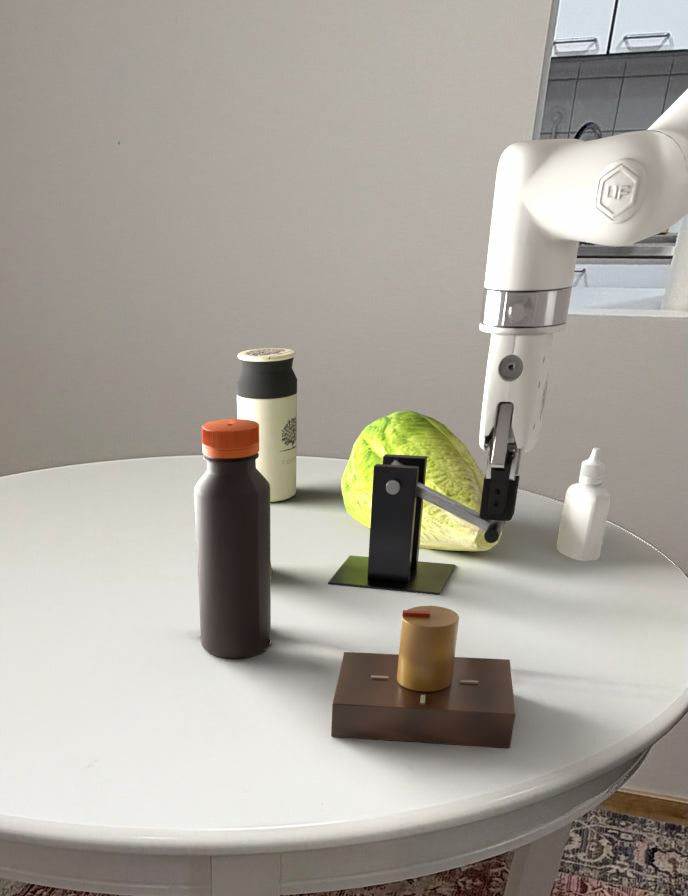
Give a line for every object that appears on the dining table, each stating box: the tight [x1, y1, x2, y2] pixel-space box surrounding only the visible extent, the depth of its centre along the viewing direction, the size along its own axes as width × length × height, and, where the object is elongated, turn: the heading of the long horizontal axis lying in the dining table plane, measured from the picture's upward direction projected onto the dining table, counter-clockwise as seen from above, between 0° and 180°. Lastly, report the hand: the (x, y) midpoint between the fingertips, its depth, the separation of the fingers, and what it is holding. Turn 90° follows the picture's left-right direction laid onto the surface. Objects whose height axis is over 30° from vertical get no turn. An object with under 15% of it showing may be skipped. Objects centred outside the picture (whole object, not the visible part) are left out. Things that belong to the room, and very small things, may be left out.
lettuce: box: [340, 409, 504, 552], centre depth 111 cm, size 15×24×14 cm, turn 22°
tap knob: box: [397, 605, 460, 692], centre depth 76 cm, size 4×4×6 cm
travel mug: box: [236, 347, 298, 503], centre depth 128 cm, size 8×8×18 cm
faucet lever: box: [391, 460, 507, 543], centre depth 97 cm, size 13×5×2 cm, turn 68°
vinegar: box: [193, 418, 272, 659], centre depth 87 cm, size 7×7×20 cm
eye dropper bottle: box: [556, 447, 611, 562], centre depth 104 cm, size 4×6×12 cm
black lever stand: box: [327, 454, 456, 596], centre depth 100 cm, size 12×9×13 cm
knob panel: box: [330, 651, 516, 749], centre depth 79 cm, size 14×10×3 cm
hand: (496, 517), depth 96 cm, fingers closed
